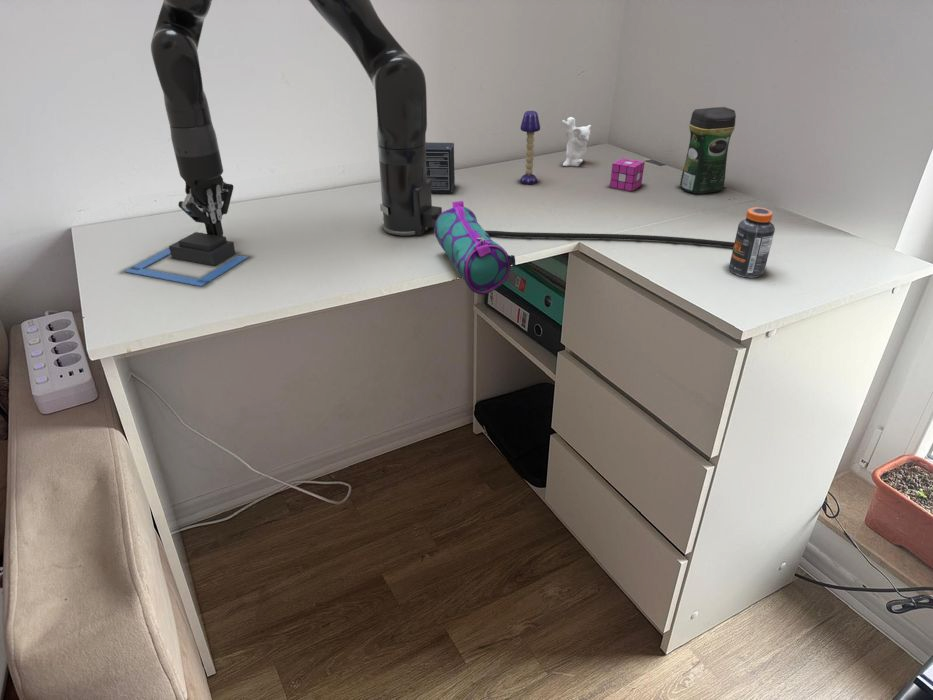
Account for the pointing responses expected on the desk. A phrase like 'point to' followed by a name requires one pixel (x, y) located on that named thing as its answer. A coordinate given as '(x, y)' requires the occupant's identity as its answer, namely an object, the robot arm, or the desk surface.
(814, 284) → the desk surface
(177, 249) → the dark raised-panel slab
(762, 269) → the pill bottle
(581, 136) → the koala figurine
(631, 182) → the puzzle toy
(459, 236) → the pencil case
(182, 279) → the frame
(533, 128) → the toy lamp
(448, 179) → the small box
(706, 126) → the coffee jar
